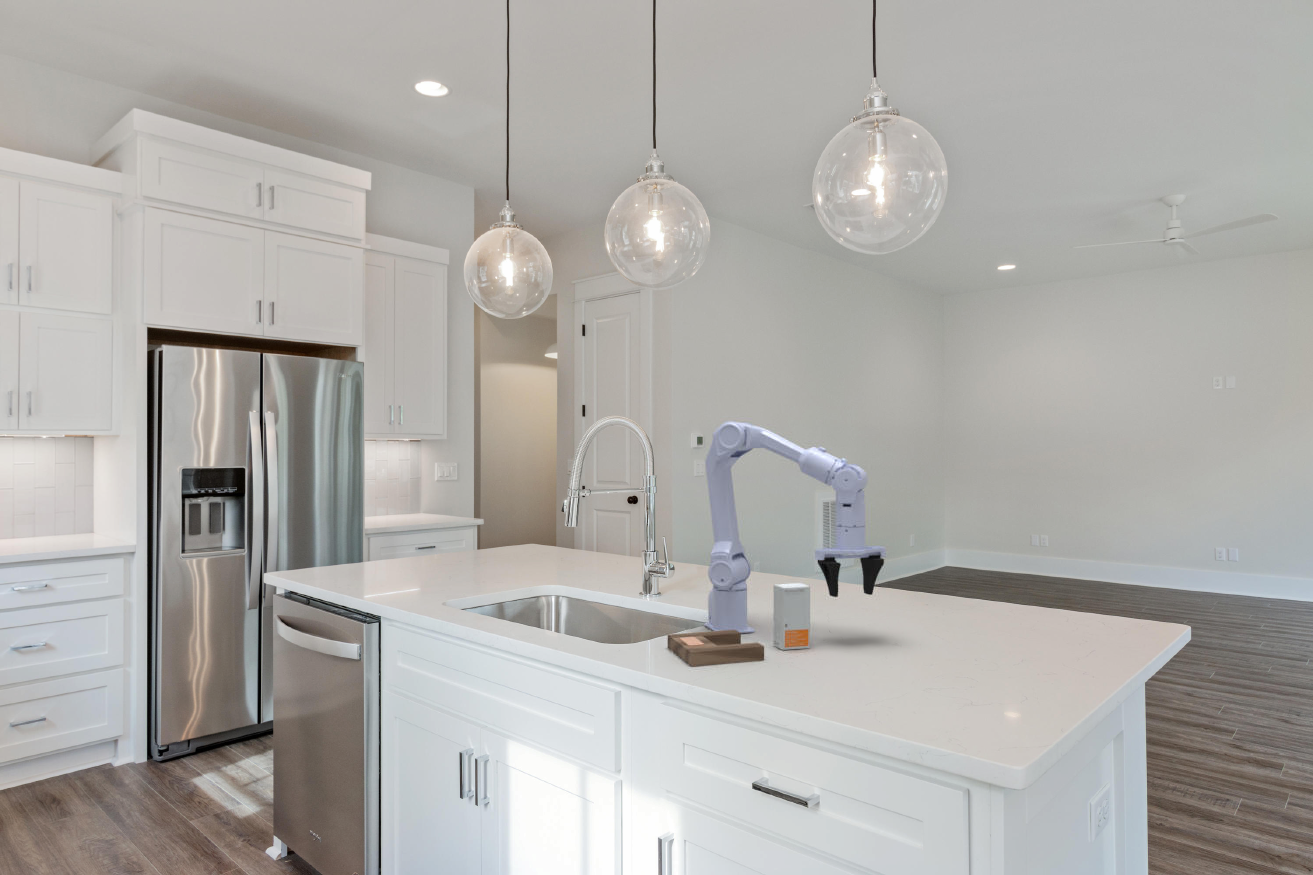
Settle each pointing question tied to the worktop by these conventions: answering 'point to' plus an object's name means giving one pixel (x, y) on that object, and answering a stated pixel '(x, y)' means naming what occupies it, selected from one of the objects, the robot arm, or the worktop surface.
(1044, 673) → the worktop surface
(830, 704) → the worktop surface
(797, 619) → the skincare box
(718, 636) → the rack board
